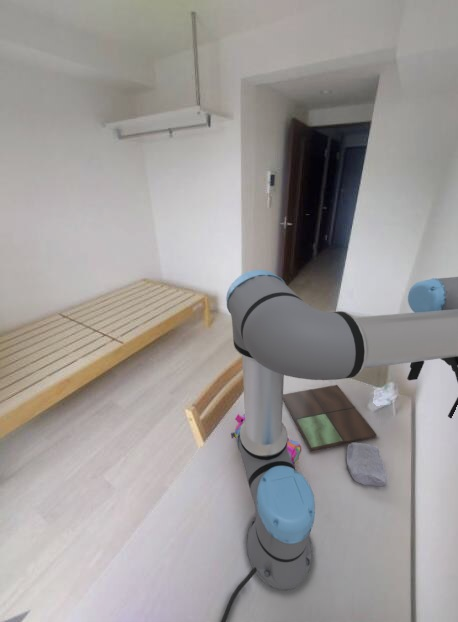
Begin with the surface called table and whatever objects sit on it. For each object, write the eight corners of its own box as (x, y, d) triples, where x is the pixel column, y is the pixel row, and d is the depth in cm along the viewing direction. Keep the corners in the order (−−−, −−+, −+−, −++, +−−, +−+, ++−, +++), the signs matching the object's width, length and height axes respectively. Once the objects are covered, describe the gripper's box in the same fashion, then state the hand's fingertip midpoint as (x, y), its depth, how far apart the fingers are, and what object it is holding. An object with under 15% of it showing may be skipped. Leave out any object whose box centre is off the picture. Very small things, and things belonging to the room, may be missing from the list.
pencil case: (229, 443, 90) (228, 424, 86) (244, 423, 97) (244, 405, 92) (289, 481, 79) (292, 462, 74) (302, 456, 85) (305, 438, 81)
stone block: (350, 486, 79) (388, 489, 76) (349, 475, 77) (388, 478, 74) (343, 450, 89) (376, 451, 87) (343, 440, 87) (377, 441, 85)
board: (310, 452, 87) (310, 448, 86) (282, 397, 107) (282, 394, 107) (375, 437, 91) (376, 434, 90) (336, 387, 112) (337, 384, 111)
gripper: (538, 361, 52) (489, 433, 62) (432, 304, 74) (408, 365, 84) (505, 365, 51) (461, 438, 61) (408, 306, 73) (387, 367, 83)
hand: (431, 396), depth 73 cm, fingers open, 13 cm apart
